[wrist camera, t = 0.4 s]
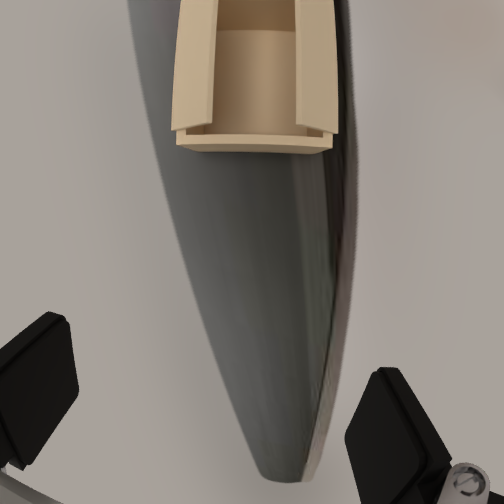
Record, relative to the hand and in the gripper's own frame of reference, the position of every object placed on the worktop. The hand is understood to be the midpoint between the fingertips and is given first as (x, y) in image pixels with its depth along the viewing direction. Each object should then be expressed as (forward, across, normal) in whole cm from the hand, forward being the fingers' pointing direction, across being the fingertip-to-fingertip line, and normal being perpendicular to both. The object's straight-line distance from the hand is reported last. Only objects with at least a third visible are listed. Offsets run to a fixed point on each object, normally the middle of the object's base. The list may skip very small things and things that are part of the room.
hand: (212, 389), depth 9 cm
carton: (+29, +1, -16) cm, 33 cm away
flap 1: (+17, +6, -16) cm, 24 cm away
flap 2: (+17, -3, -17) cm, 24 cm away
